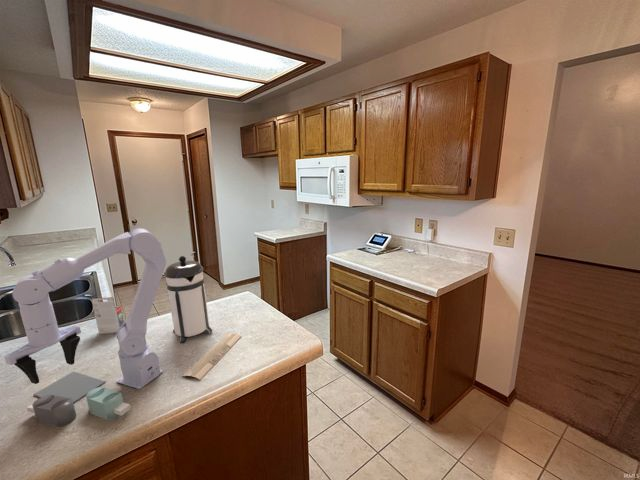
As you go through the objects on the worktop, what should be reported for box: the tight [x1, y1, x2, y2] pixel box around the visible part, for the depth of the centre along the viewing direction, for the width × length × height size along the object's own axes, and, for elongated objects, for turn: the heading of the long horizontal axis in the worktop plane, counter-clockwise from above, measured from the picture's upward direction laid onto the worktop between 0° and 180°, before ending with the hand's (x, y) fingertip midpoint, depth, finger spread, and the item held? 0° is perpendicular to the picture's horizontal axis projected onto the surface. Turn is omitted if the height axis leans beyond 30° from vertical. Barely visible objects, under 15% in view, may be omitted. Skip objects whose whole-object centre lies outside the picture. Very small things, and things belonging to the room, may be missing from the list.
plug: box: [26, 395, 77, 428], centre depth 74 cm, size 12×4×4 cm, turn 76°
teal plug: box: [85, 386, 131, 421], centre depth 75 cm, size 12×4×4 cm, turn 70°
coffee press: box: [163, 255, 213, 344], centre depth 109 cm, size 17×16×30 cm
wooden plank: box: [181, 332, 242, 381], centre depth 97 cm, size 24×7×2 cm, turn 165°
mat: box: [33, 371, 106, 404], centre depth 84 cm, size 14×10×1 cm
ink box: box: [91, 296, 125, 335], centre depth 113 cm, size 4×8×15 cm, turn 96°
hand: (53, 372), depth 75 cm, fingers open, 7 cm apart
